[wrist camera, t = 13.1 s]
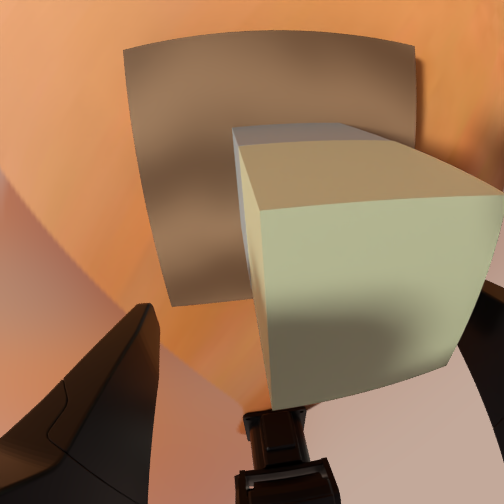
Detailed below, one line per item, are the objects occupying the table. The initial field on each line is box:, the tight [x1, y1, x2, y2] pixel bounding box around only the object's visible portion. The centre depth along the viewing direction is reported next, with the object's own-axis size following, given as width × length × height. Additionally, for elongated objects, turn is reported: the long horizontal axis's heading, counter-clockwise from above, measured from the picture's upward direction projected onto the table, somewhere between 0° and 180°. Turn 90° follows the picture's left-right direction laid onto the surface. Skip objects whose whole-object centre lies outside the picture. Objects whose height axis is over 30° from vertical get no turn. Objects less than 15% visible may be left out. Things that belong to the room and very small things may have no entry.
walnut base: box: [123, 30, 416, 307], centre depth 15 cm, size 14×14×2 cm
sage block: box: [238, 140, 504, 411], centre depth 8 cm, size 5×5×5 cm
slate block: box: [232, 123, 391, 288], centre depth 12 cm, size 5×5×5 cm
